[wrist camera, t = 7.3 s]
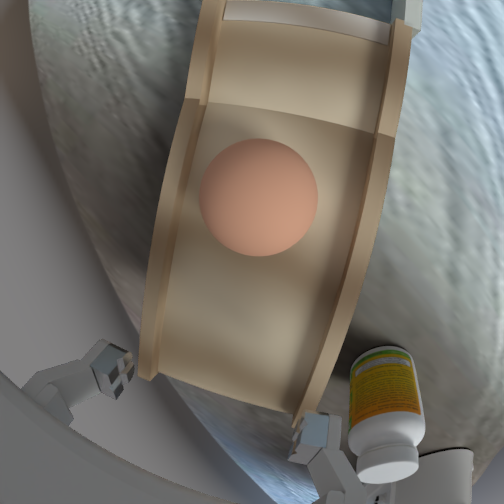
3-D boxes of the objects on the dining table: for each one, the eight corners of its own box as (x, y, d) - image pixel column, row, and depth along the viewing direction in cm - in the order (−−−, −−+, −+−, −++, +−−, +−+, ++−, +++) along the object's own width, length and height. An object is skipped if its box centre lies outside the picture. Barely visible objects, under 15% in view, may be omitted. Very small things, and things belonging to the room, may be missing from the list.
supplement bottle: (338, 360, 21) (329, 471, 13) (400, 332, 19) (418, 447, 10) (365, 395, 22) (362, 492, 14) (420, 372, 20) (436, 472, 12)
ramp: (316, 337, 21) (302, 435, 13) (194, 303, 22) (138, 382, 15) (394, 44, 12) (446, -14, 4) (230, 17, 13) (156, -43, 6)
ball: (304, 286, 9) (304, 248, 13) (334, 146, 8) (323, 153, 12) (173, 257, 10) (211, 229, 14) (190, 124, 8) (225, 136, 12)
